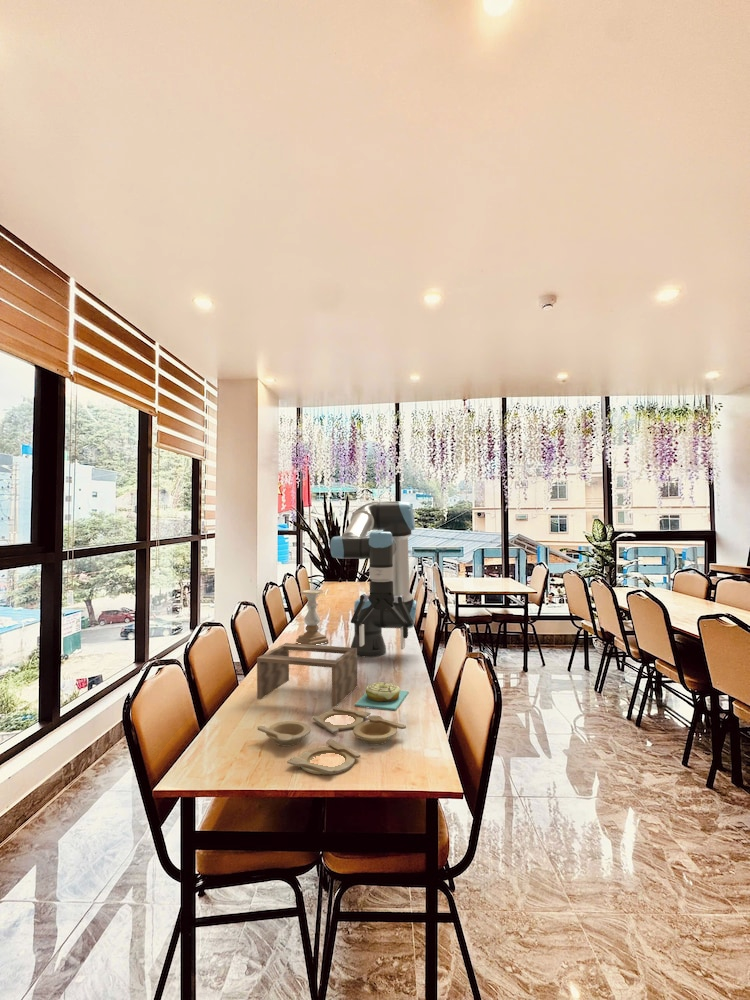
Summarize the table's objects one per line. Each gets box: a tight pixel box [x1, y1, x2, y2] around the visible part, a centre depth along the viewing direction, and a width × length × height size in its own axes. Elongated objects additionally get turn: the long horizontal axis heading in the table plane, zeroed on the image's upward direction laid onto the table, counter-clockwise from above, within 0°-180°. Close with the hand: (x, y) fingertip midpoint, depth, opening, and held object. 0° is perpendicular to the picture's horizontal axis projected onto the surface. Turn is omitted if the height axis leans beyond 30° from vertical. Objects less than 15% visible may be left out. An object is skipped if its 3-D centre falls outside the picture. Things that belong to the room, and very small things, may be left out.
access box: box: [256, 642, 358, 707], centre depth 173 cm, size 20×27×13 cm
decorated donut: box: [365, 681, 401, 702], centre depth 165 cm, size 10×11×4 cm
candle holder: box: [295, 589, 329, 645], centre depth 240 cm, size 11×11×24 cm
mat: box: [354, 689, 409, 711], centre depth 165 cm, size 16×13×1 cm
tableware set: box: [256, 706, 407, 776], centre depth 136 cm, size 35×29×4 cm
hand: (382, 647), depth 166 cm, fingers open, 13 cm apart
